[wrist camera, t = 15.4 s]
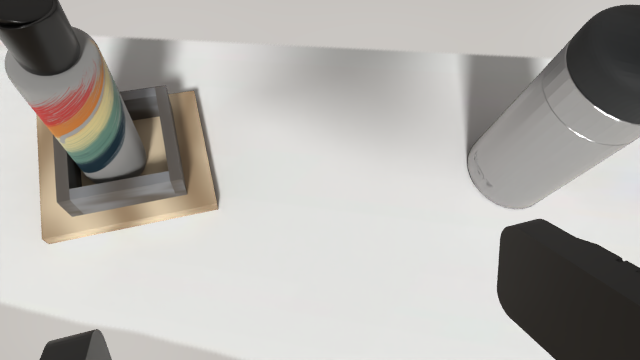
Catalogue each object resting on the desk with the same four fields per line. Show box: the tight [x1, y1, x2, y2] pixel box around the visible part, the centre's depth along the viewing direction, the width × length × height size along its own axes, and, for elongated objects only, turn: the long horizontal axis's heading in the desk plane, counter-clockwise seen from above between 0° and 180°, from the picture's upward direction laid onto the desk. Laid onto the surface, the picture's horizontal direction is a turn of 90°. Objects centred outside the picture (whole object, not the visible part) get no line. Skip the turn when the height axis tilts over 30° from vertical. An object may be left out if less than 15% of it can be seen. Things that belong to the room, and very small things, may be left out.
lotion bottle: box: [0, 0, 146, 184], centre depth 33 cm, size 6×6×20 cm
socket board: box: [37, 86, 218, 244], centre depth 42 cm, size 15×13×5 cm
